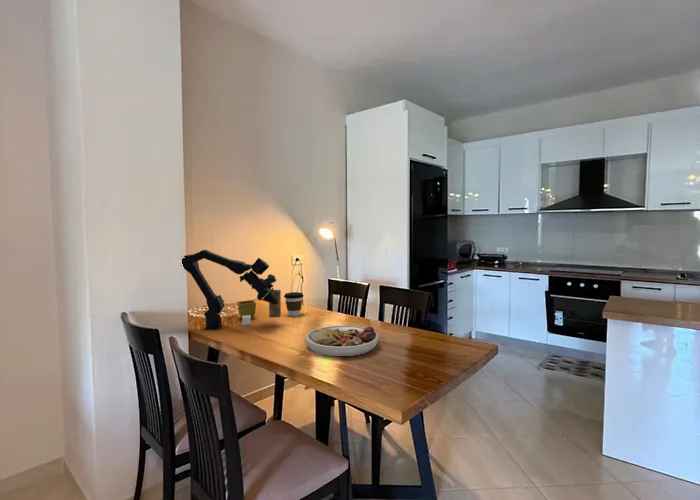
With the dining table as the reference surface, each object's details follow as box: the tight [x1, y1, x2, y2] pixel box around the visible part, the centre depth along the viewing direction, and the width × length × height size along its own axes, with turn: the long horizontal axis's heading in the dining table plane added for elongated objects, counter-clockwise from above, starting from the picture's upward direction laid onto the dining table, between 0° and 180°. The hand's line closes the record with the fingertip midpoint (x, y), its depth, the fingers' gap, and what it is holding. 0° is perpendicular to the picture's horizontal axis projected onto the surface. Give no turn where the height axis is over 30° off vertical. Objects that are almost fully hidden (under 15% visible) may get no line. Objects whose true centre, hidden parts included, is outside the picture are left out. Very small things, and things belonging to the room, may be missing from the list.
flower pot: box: [236, 299, 257, 320], centre depth 205 cm, size 9×9×9 cm
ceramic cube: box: [241, 315, 252, 326], centre depth 194 cm, size 4×4×4 cm
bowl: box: [305, 325, 379, 357], centre depth 158 cm, size 30×30×8 cm
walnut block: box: [268, 289, 282, 319], centre depth 189 cm, size 5×5×13 cm
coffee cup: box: [283, 291, 304, 317], centre depth 212 cm, size 11×11×12 cm
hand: (277, 302), depth 189 cm, fingers closed on walnut block, 5 cm apart
